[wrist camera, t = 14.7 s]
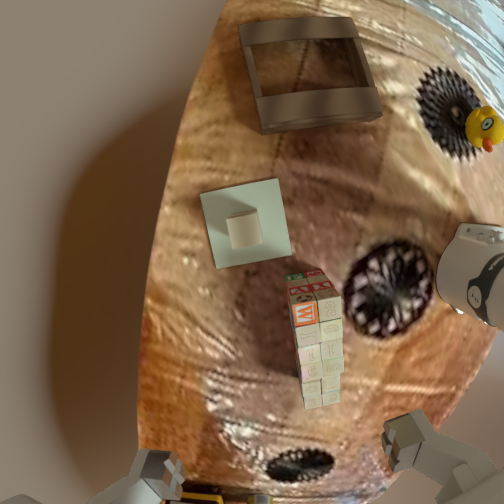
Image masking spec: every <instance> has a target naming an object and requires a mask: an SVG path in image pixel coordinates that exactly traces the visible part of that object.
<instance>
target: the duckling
mask: <svg viewBox="0 0 504 504" xmlns="http://www.w3.org/2000/svg"><path fill="white" fill-rule="evenodd" d="M465 126H466V128H465V133H466V136H467V139H468V140H469V142H470V143H471V144H472V145H473V146H475V147H483V148H484V150H485V151H487V152H492V150H493V149H492V145H497V144H499V143H501V142H502V140H503V139H504V126H503V124H502V121H501V119H500V118H499V117H498V116H497V114H496V111H495V110H494V109H493V108H492V107H490V106H484V107H480V108H478V109H475V110H473V111H472V112H471V113H470V115H469V116H468V117H467V119H466V123H465Z"/></svg>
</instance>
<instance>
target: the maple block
mask: <svg viewBox="0 0 504 504" xmlns="http://www.w3.org/2000/svg"><path fill="white" fill-rule="evenodd" d="M226 222H227V227H228V231H229V236H230V241H231V245H232V250H233V249H238V248H243V247H248V246H254V245H259V244H263V239H262V231H261V226H260V221H259V216H258V211H257V209H254V210H249V211H244V212H239V213H234V214H231V215H230V216H229V217H228V218H227V219H226Z"/></svg>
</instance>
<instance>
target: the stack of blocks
mask: <svg viewBox="0 0 504 504" xmlns="http://www.w3.org/2000/svg"><path fill="white" fill-rule="evenodd" d="M285 281H286V288H287V299H288V306H289V314H290V322H291V327H292V331H293V339H294V344H295V352H296V354H295V358H296V366H297V371H298V379H299V384H300V389H301V394H302V398H303V401H304V406H305V409H310V408H316V407H321V406H325V405H330V404H334V403H339V402H340V373H344V359H343V348H342V337H343V331H342V318H341V317H342V307H341V296H340V294H339V293H338V292H337V290H336V289H335V287H334V286H333V284H332V283H331V281H330V280H329V279H328V278H327V277H326V275H325V273H324V272H323V271H322V269H319V270H314V271H308V272H303V273H298V274H292V275H286V276H285Z"/></svg>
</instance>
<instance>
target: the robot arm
mask: <svg viewBox="0 0 504 504" xmlns="http://www.w3.org/2000/svg"><path fill="white" fill-rule="evenodd" d="M467 229H468V231H467ZM436 282H437V289H438V292H439V295H440V296H441V298H442V299H443V300H444V301H445V302H447V303H449V304H451V305H452V306H453V308H454V310H455V311H456V312H457V313H459V314H462V313H466V314H468V315H469V316H471V317H473V318H475V319H477V320H483V322H485V323H486V324H489V325H490V326H493V327H497V328H499V329H500V330H502V331H503V332H504V228H503V227H501V226H491V225H480V224H468V223H461V224H460V225H459V227H458V229H457V231H456V234H455V237H454V238H453V240H452V241H451V242H450V244H449V245H448V246H447V247H446V249H445V251H444V252H443V254H442V256H441V259H440V262H439V265H438V269H437V277H436ZM383 428H384V430H385V431H384V432H383V433H382V438H381V440H382V447H383V450H384V453H385V454H386V455H388V456H389V460H388V463H389V465H390V467H391V470H392V472H393V473H396V472H399V471H402V470H405V469H407V468H410V467H413V468H415V469H416V470H417V471H419V472H421V473H423V474H424V475H426V476H427V477H429V478H431V479H432V480H434V481H436V482H437V483H439V484H441V485H443V487H442V488H441V490H440V491H439V493H438V495H437V496H436V498H435V499H436V502H437V504H504V467H502V468H501V469H500V470H497V469H496V467H495V465H494V464H493V462H492V461H491V459H490V458H489V456H488V455H487V453H486V452H485V450H482V449H480V448H477V447H474V446H471V445H468V444H466V443H463V442H461V441H458V440H455V439H453V438H450V437H448V436H445V435H442V434H439V435H437V433H436V432H435V430H434V428H433V427H432V425H431V424H430V422H429V421H428V419H427V417H426V416H425V414H424V413H423V411H422V410H421V409H417V410H415V411H412V412H410V413H406V414H404V415H401V416H398V417H396V418H393V419H390V420H387V421H385V422H384V425H383ZM185 478H186V468H185V465H184V464H183V462H182V461H180V460H178V455H177V453H176V452H175V451H163V450H152V449H140V450H139V451H138V453H137V455H136V457H135V460H134V462H133V465H132V468H131V470H130V473H129V474H128V476H124V477H122V478H121V479H119V480H118V481H117V482H115V483H114V484H113V485H111V486H109V487H108V488H107V489H105V490H103V491H102V492H100V493H99V494H97V495H96V496H94V497H92V498H91V499H89V501H88V503H87V504H158V503H159V502H160V501H161V500H162V499H167V500H179V501H180V500H181V496H182V491H183V488H182V486H181V484H182V483H183V482H184V481H185ZM0 504H42V503H40V502H38V501H36V500H35V499H33V498H31V497H29V496H27V495H24V494H20V495H16V496H14V497H11V498H8V499H6V500H3V501H1V502H0Z"/></svg>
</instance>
